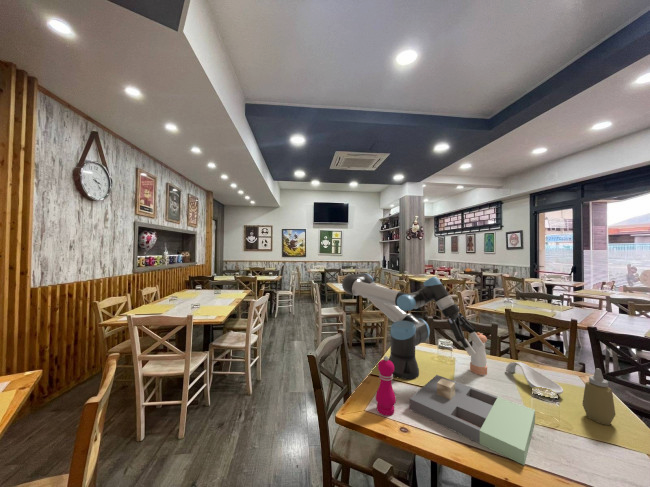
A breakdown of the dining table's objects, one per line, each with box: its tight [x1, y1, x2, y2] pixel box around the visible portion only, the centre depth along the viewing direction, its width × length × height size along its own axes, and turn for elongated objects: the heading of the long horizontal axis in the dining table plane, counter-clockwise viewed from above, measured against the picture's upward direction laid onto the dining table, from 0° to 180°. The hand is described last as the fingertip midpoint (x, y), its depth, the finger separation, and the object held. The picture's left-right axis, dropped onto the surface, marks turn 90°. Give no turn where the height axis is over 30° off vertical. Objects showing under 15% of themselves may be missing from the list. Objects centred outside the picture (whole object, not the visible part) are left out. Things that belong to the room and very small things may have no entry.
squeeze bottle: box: [582, 367, 617, 426], centre depth 91 cm, size 8×8×18 cm
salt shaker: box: [469, 331, 488, 376], centre depth 125 cm, size 7×7×19 cm
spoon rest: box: [505, 361, 564, 396], centre depth 114 cm, size 24×12×7 cm, turn 7°
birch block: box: [437, 378, 455, 400], centre depth 98 cm, size 5×5×4 cm
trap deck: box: [409, 374, 536, 466], centre depth 92 cm, size 34×26×4 cm
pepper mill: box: [375, 355, 397, 416], centre depth 94 cm, size 7×7×20 cm
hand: (477, 350), depth 113 cm, fingers open, 13 cm apart
